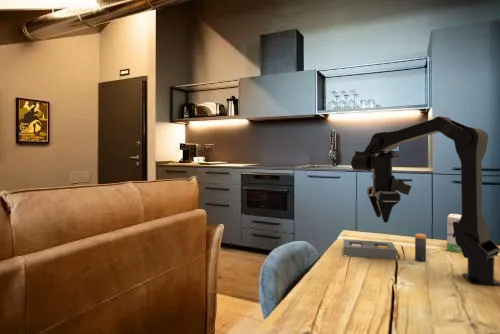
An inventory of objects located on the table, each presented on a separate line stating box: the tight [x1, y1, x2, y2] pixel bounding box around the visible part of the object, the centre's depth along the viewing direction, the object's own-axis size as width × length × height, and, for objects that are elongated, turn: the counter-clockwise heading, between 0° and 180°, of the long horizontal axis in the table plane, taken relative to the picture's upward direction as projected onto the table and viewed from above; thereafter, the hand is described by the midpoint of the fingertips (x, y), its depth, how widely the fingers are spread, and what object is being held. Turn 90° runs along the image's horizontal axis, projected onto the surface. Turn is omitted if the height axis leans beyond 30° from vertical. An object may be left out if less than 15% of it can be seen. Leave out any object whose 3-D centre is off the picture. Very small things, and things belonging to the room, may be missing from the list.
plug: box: [414, 233, 427, 263], centre depth 103 cm, size 3×3×8 cm
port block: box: [343, 239, 398, 260], centre depth 111 cm, size 10×16×4 cm, turn 75°
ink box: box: [446, 213, 462, 253], centre depth 116 cm, size 8×5×12 cm, turn 143°
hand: (381, 219), depth 108 cm, fingers open, 9 cm apart
